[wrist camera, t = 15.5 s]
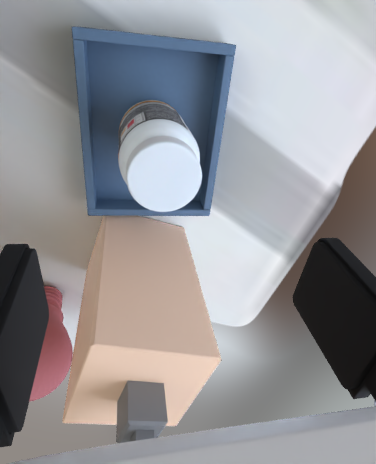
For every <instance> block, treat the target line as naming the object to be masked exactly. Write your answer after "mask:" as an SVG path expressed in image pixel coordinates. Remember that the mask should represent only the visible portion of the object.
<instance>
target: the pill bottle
mask: <svg viewBox="0 0 376 464" xmlns="http://www.w3.org/2000/svg"><path fill="white" fill-rule="evenodd" d="M118 160H119V168H120V172H121V175H122V177H123V179H124V181H125V183H126V184H127V186H128V189H129V192H130V194H131V195H132V197H133V198H134V199H135V200H136V201H137V202H138V203H139V204H140V205H141V206H143V207H145V208H147V209H149V210H152V211H157V212H169V211H174V210H177V209H180V208H181V207H183V206H185V205H186V204H188V203H189V202H190V201H191V200H192V199H193V198H194V197H195V195H196V194H197V192H198V190H199V188H200V185H201V181H202V171H201V166H200V153H199V148H198V145H197V142H196V140H195V138H194V136H193V135H192V133H191V132H190V130H189V129H188V127H187V126H186V124H185V122H184V121H183V119H182V118H181V116H180V115H179V114H178V113H177V111H176V110H175V109H174V108H172V107H171V106H170V105H168V104H166V103H164V102H161V101H157V100H146V101H142V102H139V103H137V104H135V105H133V106H132V107H131V108H130V109H129V110H128V111H127V112H126V113H125V115H124V116H123V118H122V120H121V123H120V127H119V154H118Z"/></svg>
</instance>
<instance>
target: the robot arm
mask: <svg viewBox="0 0 376 464" xmlns="http://www.w3.org/2000/svg"><path fill="white" fill-rule="evenodd" d="M293 303H294V305H295V307H296V309H297V310H298V312H299V313H300V315H301V317H302V319H303V320H304V322H305V324H306V325H307V327H308V329H309V331H310V332H311V334H312V336H313V337H314V339H315V340H316V342H317V344H318V346H319V347H320V349H321V351H322V353H323V354H324V356H325V358H326V359H327V361H328V363H329V364H330V366H331V368H332V369H333V371H334V373H335V375H336V376H337V378H338V380H339V381H340V383H341V385H342V386H343V387H344V388H345V389H348V391H349V392H350V394H351V396H352V397H353V399H357V398H365V397H368V396H369V395H370V394H371V395H372V396H373V398H374V399H375V402H374V407H367V408H360V409H352V410H346V411H338V412H331V413H324V414H316V415H309V416H302V417H296V418H288V419H281V420H274V421H267V422H260V423H253V424H246V425H239V426H233V427H225V428H218V429H212V430H205V431H198V432H191V433H185V434H178V435H171V436H164V437H158V438H151V439H144V440H138V441H131V442H124V443H117V444H111V445H106V446H99V447H93V448H87V449H81V450H76V451H69V452H63V453H58V454H51V455H45V456H40V457H36V458H32V459H27V460H22V461H18V462H13V463H8V464H376V277H375V276H374V275H373V274H372V273H371V272H370V271H369V270H368V269H367V268H366V267H365V266H364V265H363V264H362V263H361V262H360V260H359V259H358V258H357V257H356V256H355V255H354V254H353V253H352V252H351V251H350V250H349V249H348V248H347V247H346V246H345V245H344V244H343V243H342V242H341V241H340V240H339V239H337V238H321V239H319V240H318V241H317V242H316V243H315V244H314V245H313V247H312V250H311V252H310V255H309V257H308V259H307V262H306V265H305V267H304V269H303V272H302V274H301V277H300V279H299V282H298V284H297V287H296V289H295V292H294V294H293ZM48 321H49V307H48V303H47V298H46V294H45V289H44V284H43V280H42V275H41V271H40V266H39V261H38V257H37V252H36V250H35V249H30V248H29V246H28V244H7V245H5V246H4V248H3V250H2V252H1V254H0V447H5V446H11V445H12V440H13V437H14V433H15V432H19V431H21V430H22V427H23V424H24V420H25V416H26V412H27V408H28V403H29V400H30V396H31V391H32V387H33V383H34V379H35V375H36V371H37V367H38V362H39V358H40V354H41V350H42V346H43V342H44V338H45V333H46V329H47V325H48Z"/></svg>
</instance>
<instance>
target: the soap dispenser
mask: <svg viewBox="0 0 376 464" xmlns="http://www.w3.org/2000/svg"><path fill="white" fill-rule="evenodd" d="M220 362H221V357H220V353H219V349H218V346H217V342H216V339H215V336H214V332H213V328H212V325H211V321H210V318H209V314H208V311H207V307H206V304H205V300H204V297H203V293H202V290H201V286H200V282H199V279H198V275H197V272H196V268H195V265H194V261H193V258H192V254H191V251H190V247H189V244H188V240H187V237H186V233H185V230H184V228H183V227H179V226H176V225H172V224H168V223H164V222H160V221H156V220H153V219H149V218H145V217H141V216H103V218H102V222H101V225H100V228H99V231H98V235H97V238H96V241H95V245H94V248H93V251H92V255H91V258H90V261H89V264H88V268H87V271H86V278H85V284H84V290H83V296H82V302H81V309H80V315H79V321H78V327H77V333H76V340H75V346H74V352H73V358H72V365H71V371H70V377H69V383H68V389H67V396H66V402H65V408H64V414H63V420H62V421H63V423H74V424H76V423H77V424H111V425H117V435H116V437H117V438H116V442H118V443H124V442H131V441H138V440H144V439H151V438H158V436H159V435H160V433H161V431H162V430H163V429H164V427H165V426H176V425H177V424H178V422H179V421H180V419H181V418H182V417H183V415H184V414H185V412H186V411H187V409H188V408H189V406H190V405H191V404H192V402H193V401H194V399H195V398H196V396H197V395H198V393H199V392H200V390H201V389H202V388H203V386H204V385H205V383H206V382H207V380H208V379H209V378H210V376H211V375H212V373H213V372H214V370H215V369H216V367H217V366H218V365H219V363H220Z"/></svg>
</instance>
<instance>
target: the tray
mask: <svg viewBox="0 0 376 464" xmlns="http://www.w3.org/2000/svg"><path fill="white" fill-rule="evenodd" d="M72 37H73V48H74V60H75V71H76V83H77V94H78V106H79V117H80V129H81V141H82V152H83V164H84V175H85V187H86V199H87V208H88V209H87V210H88V215H89V216H209V215H210V209H211V202H212V196H213V190H214V183H215V177H216V170H217V164H218V157H219V151H220V145H221V138H222V132H223V125H224V119H225V112H226V106H227V100H228V93H229V87H230V80H231V74H232V67H233V61H234V55H235V49H236V45H233V44H227V43H219V42H210V41H201V40H193V39H184V38H175V37H166V36H157V35H148V34H139V33H130V32H122V31H113V30H104V29H95V28H86V27H72ZM146 100H157V101H161V102H164V103H166V104H168V105H170V106H171V107H172V108H174V109H175V110H176V111H177V113H178V114H179V115H180V116H181V118H182V119H183V121H184V122H185V124H186V126H187V127H188V129H189V130H190V132H191V133H192V135H193V136H194V138H195V140H196V142H197V145H198V148H199V153H200V166H201V171H202V181H201V185H200V188H199V190H198V192H197V194H196V195H195V197H194V198H193V199H192V200H191V201H190V202H189V203H188V204H186V205H185V206H183V207H181V208H180V209H177V210H174V211H169V212H157V211H152V210H149V209H147V208H145V207H143V206H141V205H140V204H139V203H138V202H137V201H136V200H135V199H134V198H133V197H132V195H131V194H130V192H129V189H128V186H127V184H126V183H125V181H124V179H123V177H122V175H121V172H120V168H119V160H118V154H119V127H120V123H121V120H122V118H123V116H124V115H125V113H126V112H127V111H128V110H129V109H130V108H131V107H132V106H133V105H135V104H137V103H139V102H142V101H146Z"/></svg>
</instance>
